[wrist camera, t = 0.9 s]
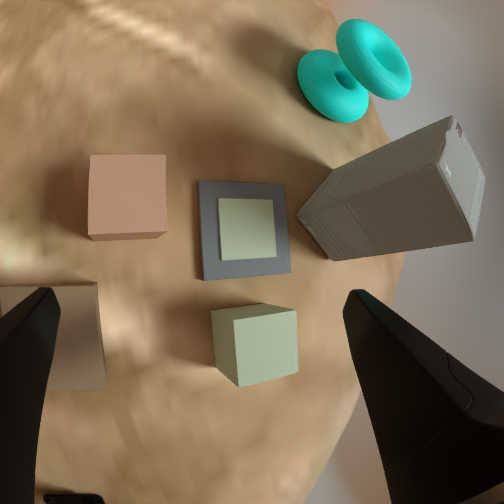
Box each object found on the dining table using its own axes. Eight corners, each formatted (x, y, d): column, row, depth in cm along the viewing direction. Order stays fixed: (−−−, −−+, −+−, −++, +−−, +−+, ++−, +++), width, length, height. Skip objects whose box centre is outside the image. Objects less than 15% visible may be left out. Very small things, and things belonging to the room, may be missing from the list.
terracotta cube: (156, 238, 23) (167, 231, 18) (94, 241, 20) (88, 234, 16) (155, 176, 23) (166, 154, 18) (94, 177, 20) (90, 155, 16)
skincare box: (329, 263, 30) (476, 257, 15) (286, 208, 28) (437, 164, 14) (366, 210, 33) (492, 185, 18) (331, 160, 31) (458, 110, 16)
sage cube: (267, 356, 26) (298, 371, 22) (215, 367, 24) (238, 387, 20) (264, 303, 26) (296, 309, 22) (210, 310, 24) (233, 320, 20)
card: (287, 272, 27) (292, 272, 27) (202, 280, 24) (205, 280, 23) (281, 186, 28) (285, 184, 27) (197, 182, 24) (200, 179, 23)
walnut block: (107, 370, 20) (106, 389, 17) (28, 371, 17) (15, 389, 14) (97, 282, 20) (93, 285, 17) (16, 283, 17) (-1, 287, 14)
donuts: (408, 47, 25) (422, 110, 24) (355, 79, 34) (357, 138, 33) (345, 0, 21) (353, 59, 20) (294, 45, 30) (289, 105, 29)
